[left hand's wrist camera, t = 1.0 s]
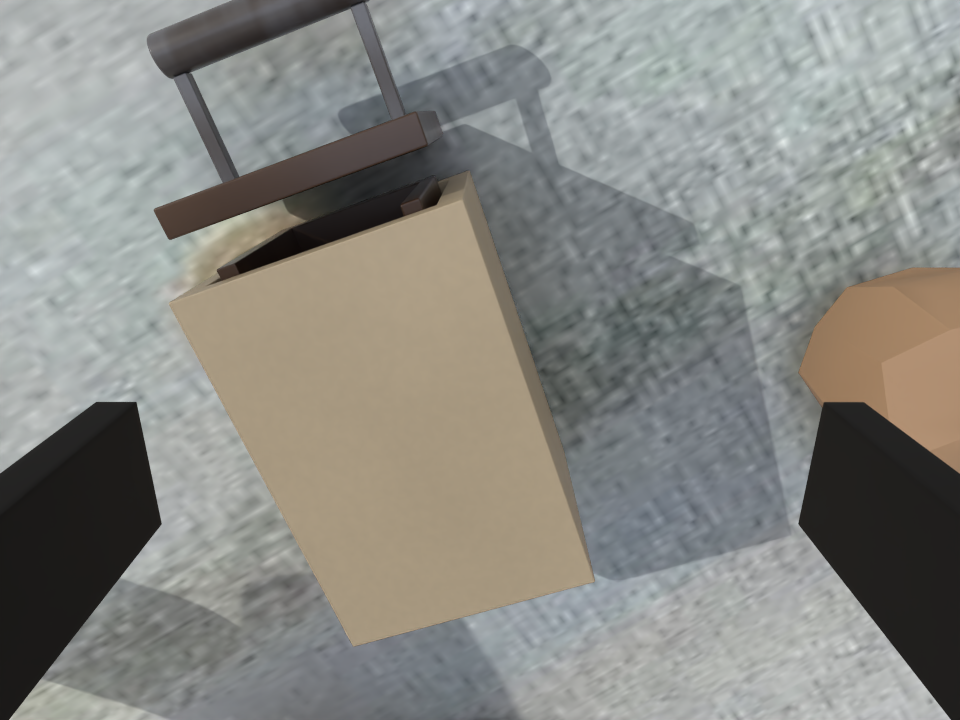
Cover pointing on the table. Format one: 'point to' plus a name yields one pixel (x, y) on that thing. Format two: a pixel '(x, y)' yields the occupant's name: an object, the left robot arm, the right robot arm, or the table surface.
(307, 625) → the table surface
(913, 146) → the table surface
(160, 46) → the drawer
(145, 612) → the table surface
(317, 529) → the tan box
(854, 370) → the squash
